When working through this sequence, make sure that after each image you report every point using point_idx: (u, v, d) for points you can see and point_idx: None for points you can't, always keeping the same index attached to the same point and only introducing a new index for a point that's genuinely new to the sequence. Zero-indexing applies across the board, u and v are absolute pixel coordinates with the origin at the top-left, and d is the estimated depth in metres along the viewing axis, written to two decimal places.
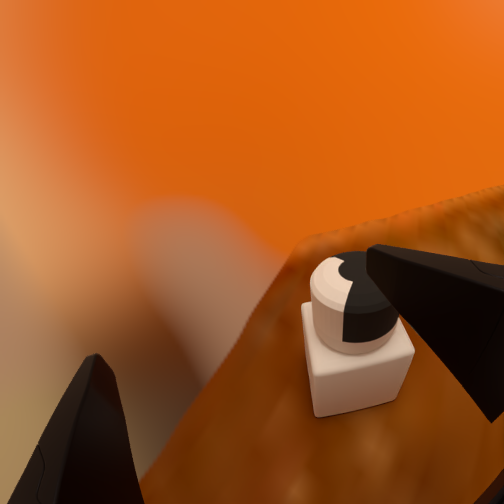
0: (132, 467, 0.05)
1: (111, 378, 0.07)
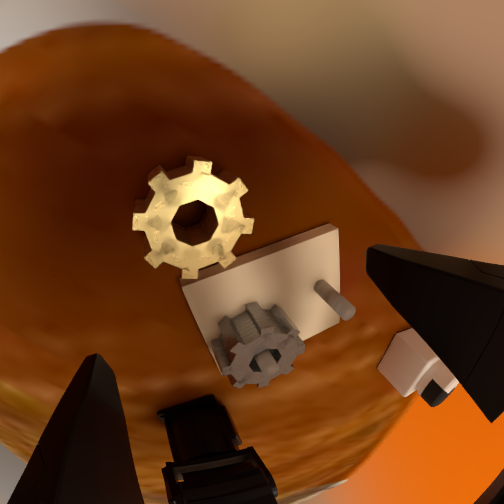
0: (132, 467, 0.05)
1: (111, 378, 0.07)
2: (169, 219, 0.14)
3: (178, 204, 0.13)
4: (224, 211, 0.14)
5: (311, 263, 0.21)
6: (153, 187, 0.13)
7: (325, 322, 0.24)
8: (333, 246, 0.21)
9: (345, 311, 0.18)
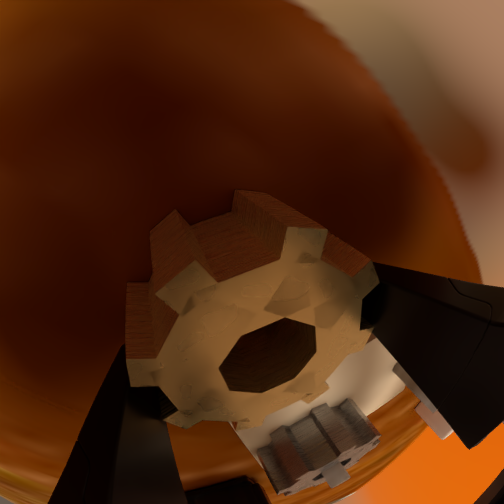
0: (173, 459, 0.05)
1: None
2: (216, 363, 0.06)
3: (238, 333, 0.05)
4: (331, 328, 0.06)
5: None
6: (172, 303, 0.05)
7: (390, 395, 0.16)
8: None
9: None
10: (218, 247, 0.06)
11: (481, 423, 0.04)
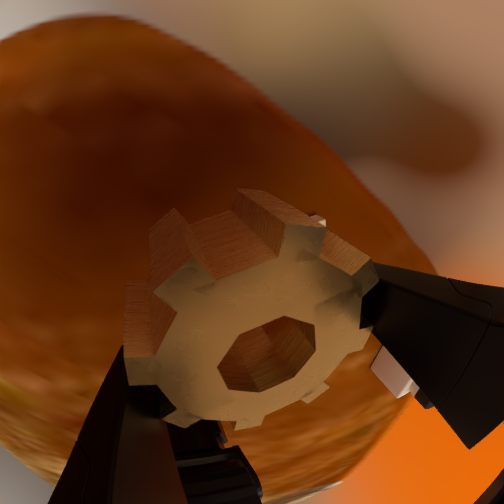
0: (173, 459, 0.05)
1: None
2: (214, 361, 0.05)
3: (237, 332, 0.05)
4: (331, 327, 0.06)
5: None
6: (170, 301, 0.05)
7: None
8: None
9: None
10: (217, 245, 0.06)
11: (481, 423, 0.04)
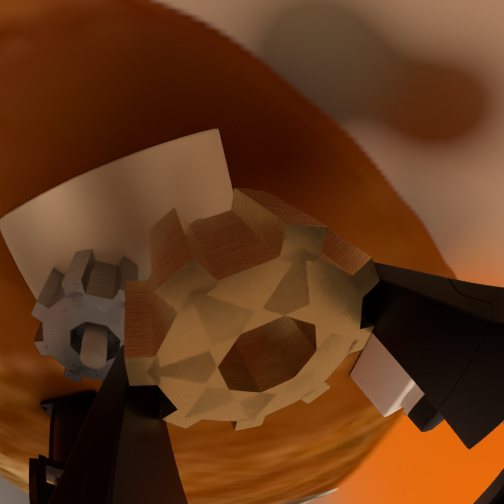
0: (173, 459, 0.05)
1: None
2: (215, 361, 0.05)
3: (238, 332, 0.05)
4: (332, 327, 0.06)
5: (174, 187, 0.12)
6: (171, 301, 0.04)
7: None
8: (214, 159, 0.12)
9: None
10: (217, 245, 0.06)
11: (481, 423, 0.04)
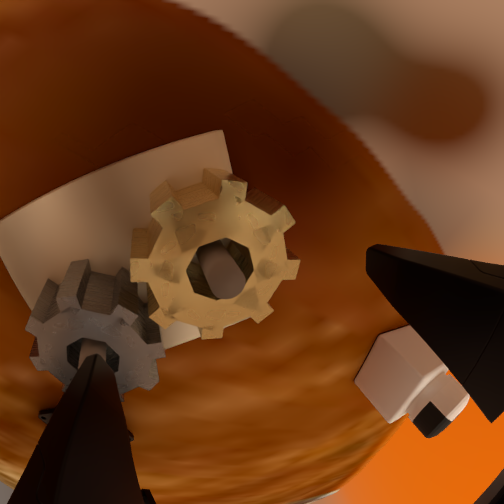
0: (132, 467, 0.05)
1: (111, 378, 0.07)
2: (184, 266, 0.09)
3: (197, 245, 0.09)
4: (262, 252, 0.10)
5: None
6: (159, 220, 0.08)
7: None
8: (218, 162, 0.11)
9: (215, 278, 0.09)
10: (188, 197, 0.10)
11: (503, 393, 0.04)
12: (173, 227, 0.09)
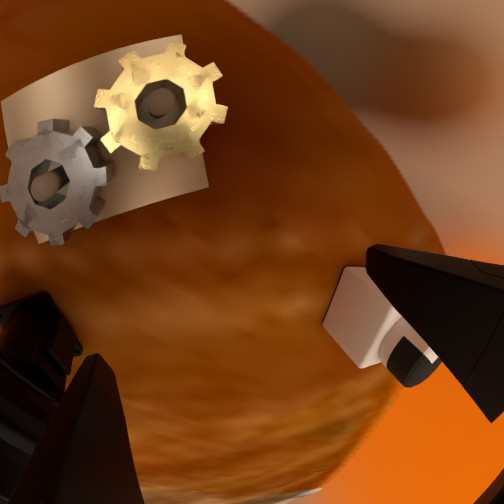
0: (132, 467, 0.05)
1: (111, 378, 0.07)
2: (133, 97, 0.10)
3: (145, 82, 0.10)
4: (194, 94, 0.11)
5: None
6: (123, 64, 0.09)
7: (180, 179, 0.16)
8: None
9: (151, 94, 0.10)
10: None
11: (503, 393, 0.04)
12: (131, 69, 0.10)
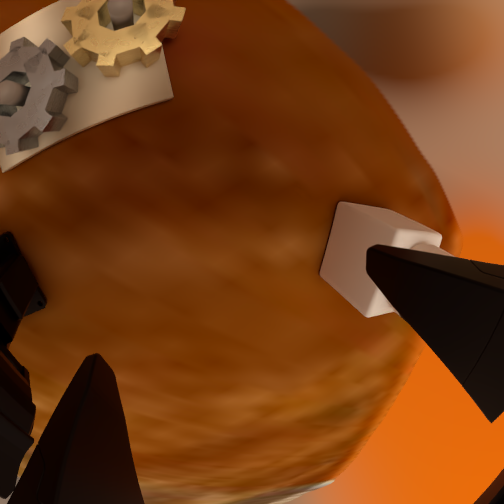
0: (132, 467, 0.05)
1: (111, 378, 0.07)
2: (97, 8, 0.07)
3: None
4: (153, 0, 0.08)
5: None
6: None
7: (143, 90, 0.13)
8: None
9: None
10: None
11: None
12: None
